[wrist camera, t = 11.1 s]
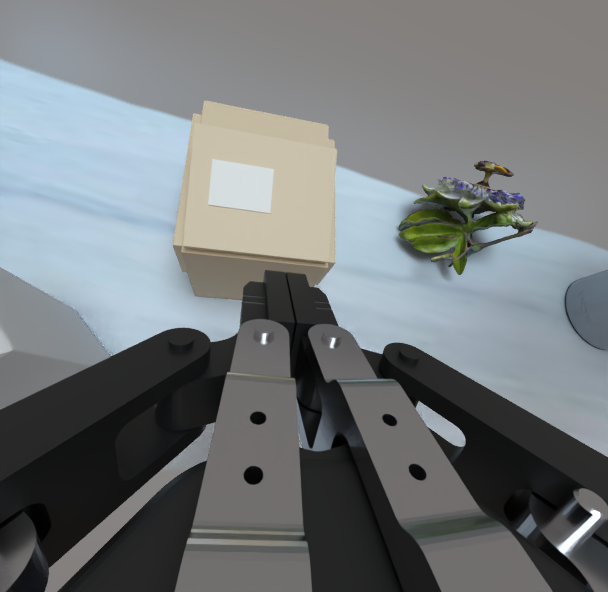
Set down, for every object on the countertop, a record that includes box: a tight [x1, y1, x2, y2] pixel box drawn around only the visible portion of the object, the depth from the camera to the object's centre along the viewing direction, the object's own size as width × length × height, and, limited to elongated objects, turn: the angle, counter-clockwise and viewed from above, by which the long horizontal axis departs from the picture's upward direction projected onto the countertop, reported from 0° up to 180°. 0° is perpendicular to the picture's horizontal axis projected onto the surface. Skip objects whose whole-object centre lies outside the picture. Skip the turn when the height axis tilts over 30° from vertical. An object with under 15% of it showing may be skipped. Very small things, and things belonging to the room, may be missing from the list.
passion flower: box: [399, 161, 538, 275], centre depth 36 cm, size 11×11×12 cm
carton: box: [173, 101, 336, 300], centre depth 28 cm, size 11×12×11 cm
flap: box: [183, 123, 337, 263], centre depth 22 cm, size 10×8×1 cm
